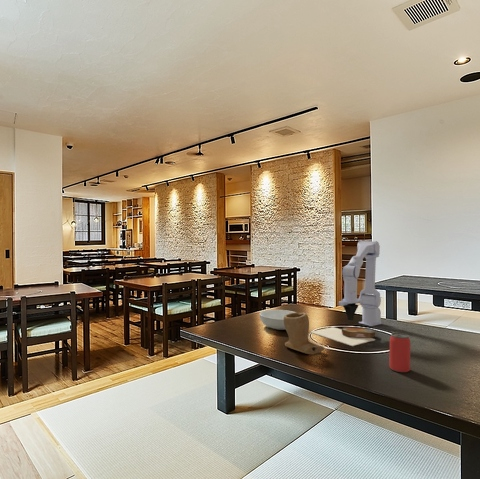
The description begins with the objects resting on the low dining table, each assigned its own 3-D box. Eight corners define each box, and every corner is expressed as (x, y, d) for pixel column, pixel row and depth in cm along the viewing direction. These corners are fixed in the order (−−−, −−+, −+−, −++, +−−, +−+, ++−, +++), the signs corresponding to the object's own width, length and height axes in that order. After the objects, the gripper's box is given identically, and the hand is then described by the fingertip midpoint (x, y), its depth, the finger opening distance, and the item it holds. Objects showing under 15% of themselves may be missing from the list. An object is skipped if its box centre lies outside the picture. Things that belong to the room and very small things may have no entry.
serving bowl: (267, 334, 159) (267, 320, 158) (254, 323, 179) (254, 310, 179) (308, 331, 164) (308, 317, 164) (290, 321, 184) (290, 308, 184)
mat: (332, 327, 171) (332, 327, 171) (375, 340, 152) (375, 339, 152) (310, 332, 162) (310, 331, 162) (352, 346, 143) (352, 345, 143)
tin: (372, 327, 161) (377, 331, 153) (372, 334, 161) (377, 338, 152) (339, 326, 162) (343, 330, 154) (339, 333, 162) (343, 337, 154)
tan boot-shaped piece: (277, 347, 140) (277, 311, 140) (298, 343, 146) (299, 308, 146) (302, 359, 127) (303, 319, 127) (325, 353, 134) (325, 315, 133)
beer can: (385, 366, 121) (386, 332, 121) (403, 365, 121) (403, 332, 121) (395, 373, 114) (396, 337, 114) (414, 373, 115) (414, 337, 115)
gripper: (353, 288, 168) (352, 316, 168) (333, 290, 159) (333, 319, 160) (365, 290, 162) (365, 319, 162) (345, 293, 154) (345, 323, 154)
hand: (350, 319), depth 160 cm, fingers closed
